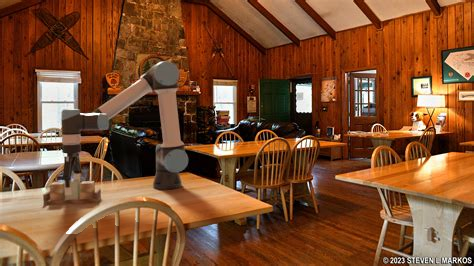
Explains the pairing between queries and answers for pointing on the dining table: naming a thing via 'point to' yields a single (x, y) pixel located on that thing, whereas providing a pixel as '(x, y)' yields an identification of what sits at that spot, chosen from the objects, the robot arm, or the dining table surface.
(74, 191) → the beige rectangular block
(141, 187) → the dining table surface
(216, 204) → the dining table surface
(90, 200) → the cradle
